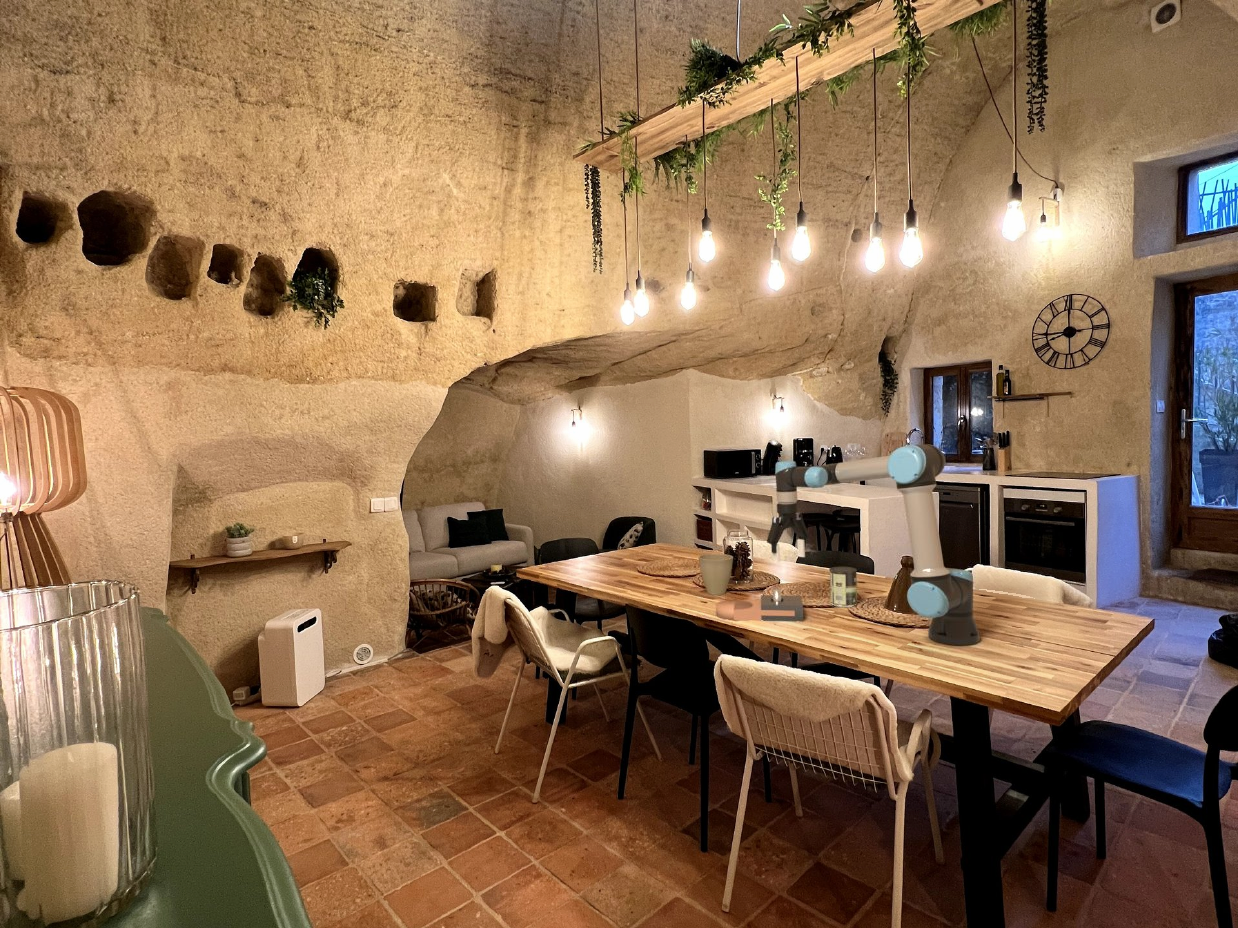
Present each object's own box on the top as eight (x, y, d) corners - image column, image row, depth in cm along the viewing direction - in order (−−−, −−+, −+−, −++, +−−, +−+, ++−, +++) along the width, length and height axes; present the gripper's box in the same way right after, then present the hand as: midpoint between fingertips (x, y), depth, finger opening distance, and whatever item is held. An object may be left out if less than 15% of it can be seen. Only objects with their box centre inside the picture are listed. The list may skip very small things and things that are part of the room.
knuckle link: (794, 621, 253) (794, 610, 253) (715, 619, 259) (714, 609, 259) (793, 611, 267) (792, 600, 267) (717, 609, 273) (717, 599, 273)
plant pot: (726, 598, 289) (724, 561, 289) (693, 595, 297) (692, 558, 296) (739, 590, 302) (738, 554, 301) (708, 587, 310) (707, 552, 309)
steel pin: (781, 616, 260) (781, 590, 259) (773, 616, 260) (772, 590, 260) (781, 614, 262) (780, 588, 262) (773, 614, 263) (772, 588, 263)
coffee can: (855, 600, 279) (854, 566, 278) (859, 607, 268) (858, 571, 268) (828, 600, 281) (828, 566, 280) (831, 607, 271) (830, 571, 270)
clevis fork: (803, 621, 253) (802, 605, 252) (761, 620, 256) (760, 604, 255) (801, 611, 266) (800, 595, 266) (761, 610, 269) (761, 595, 269)
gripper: (801, 499, 268) (803, 553, 269) (755, 505, 254) (757, 562, 255) (817, 500, 262) (819, 555, 263) (770, 506, 248) (773, 565, 249)
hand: (789, 559), depth 259 cm, fingers open, 13 cm apart
